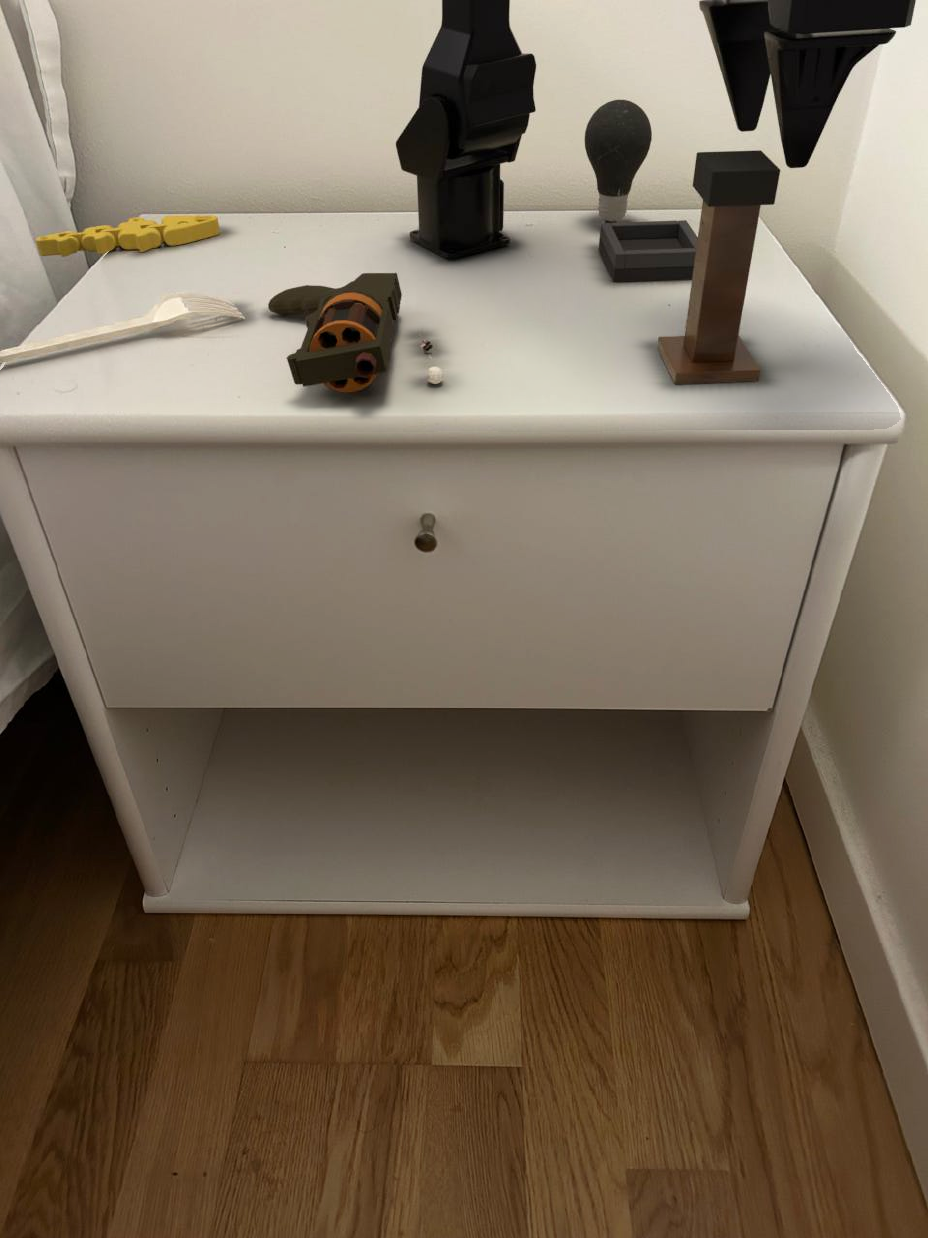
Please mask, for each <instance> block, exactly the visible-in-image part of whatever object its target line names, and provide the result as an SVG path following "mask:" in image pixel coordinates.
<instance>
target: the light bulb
mask: <svg viewBox="0 0 928 1238" xmlns="http://www.w3.org/2000/svg"><path fill="white" fill-rule="evenodd" d="M652 141H653V131H652V126H651V123H650V119H649V117H648V115H647V114H646V112H645V111H644V110H643V108H642V107H640V106H639V105H638V104H637V103H635V102H633V101H631V100H627V99H614V100H610V101H607V102H606V103H604V104H602V105H601V106H600V107H598V108H597V109H596V110H595V111H594V113H593V114H592V115H591V117H590V118H589V120H588V122H587V124H586V127H585V131H584V149H585V152H586V156H587V159H588V161H589V163H590V165H591V167H592V170H593V173H594V175H595V178H596V187H597V188H596V189H597V192H598V197H599V198H598V207H597V209H598V216H599V217H600V218H601V219H602V220H603V221H605V223H615V222H619V221H621V220H622V219H624V218H625V217H626V214H627V211H628V210H627V208H628V198H629V194H630V191H631V189H632V185H633V181H634V179H635V176H636V175H637V172H639V169H640V168H641V166H642V165H643V163H644V161H645V160H646V158H647V157H648V154H649V151H650V148H651V144H652Z"/></svg>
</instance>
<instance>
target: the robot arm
mask: <svg viewBox="0 0 928 1238" xmlns="http://www.w3.org/2000/svg"><path fill="white" fill-rule="evenodd" d="M916 2H917V0H699V2H698V4H699V10H700V11H701V12H702V15H703V19H704V20H705V21H704V22H705V25H706V27H707V32H708V34H709V36H710V39H711V43H712V47H713V49H714V52H715V53H714V54H715V55H716V59H717V62H718V63H717V64H718V66H719V70H720V72H721V75H722V79H723V83H724V86H725V90H726V94H727V96H728V100H729V103H730V107H731V110H732V114H733V117H734V121H735V124H736V128H737V130H738V131H740V132H741V133H743V132H754V131H755V130H757V127H758V124H759V121H760V117H761V115H762V114H761V113H762V111H763V107H764V103H765V98H766V94H767V90H768V86H769V82H770V78H771V84H772V91H773V98H774V105H775V110H776V117H777V122H778V129H779V134H780V141H781V145H782V146H781V147H782V151H783V157H784V161H785V165H786V166H787V167H788V168H789V169H800V168H801V169H802V168H805V167H807V166H808V164H809V163H810V160H811V159H812V155H813V153H814V151H815V149H816V148H817V147H816V146H817V145H818V143H819V140H820V138H821V135H822V133H823V131H824V129H825V128H826V124H827V122H828V120H829V118H830V116H831V113H832V112H833V109H834V107H835V105H836V102H837V100H838V98H839V96H840V94H841V92H842V90H843V87H844V86H845V84H846V82H847V80H848V78H849V76H850V74H851V72H852V70H853V69H854V68H855V66H856V65H857V64H858V63H860V62H861V61H862V60H863V59H864V58H865V57H867V56H868V55H869V54H871V52H873V51H874V50H875V49H876V48H878V47H879V46H881V45H886V44H889V43H890V42H891V41H892V39H893V38H894V37H895V35H896V34H897V30H895V29H901V28H903V29H904V28H907V27H910V26H912V21H913V18H914V11H915V6H916ZM510 6H511V0H441V25H440V28H439V30H438V33H437V34H436V36H435V38H434V41H433V43H432V45H431V47H430V49H429V51H428V53H427V56H426V58H425V60H424V62H423V64H422V68H421V76H420V87H419V89H420V90H419V101H418V108H417V109H416V111H415V112H414V114H413V115H412V116H411V118H410V120H409V122H408V123H407V124H406V126H405V127H404V129H403V131H402V132H401V133H400V135H399V136H398V138H397V139H396V141H395V149H396V153H397V156H398V161H399V165H400V169H401V170H402V171H403V172H405V173H407V174H411V175H413V176H415V177H416V187H417V190H416V191H417V212H418V214H417V215H418V229H416V230H412V231H410V232H409V239H410V240H412V241H414V242H415V243H417V244H419V245H421V246H423V247H425V248H427V249H428V250H430V251H432V252H434V253H435V254H437V255H439V256H441V257H442V258H444V259H450V260H451V259H457V258H461V257H464V256H468V255H472V254H477V253H480V252H484V251H485V252H486V251H488V250H492V249H497V248H500V247H503V246H504V247H505V246H509V245H510V244H511V237H510V236H508V235H507V234H504V233H502V231H503V230H504V215H505V214H504V211H505V209H504V208H505V207H504V206H505V203H504V202H505V182H504V180H503V179H501V165H502V164H505V163H510V164H511V163H513V162H515V161H516V158H517V155H518V151H519V147H520V143H521V139H522V137H523V135H524V134H526V131H527V129H528V127H529V121H530V115H531V114H532V113H535V112H536V111H537V109H536V103H535V97H534V87H535V77H536V71H537V62H536V57H535V55H534V54H533V53H523V51H522V50H521V47H520V45H519V44H518V41H517V40H516V37H515V35H514V33H513V30H512V28H511V24H510V9H511V8H510Z"/></svg>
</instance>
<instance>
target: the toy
mask: <svg viewBox="0 0 928 1238" xmlns="http://www.w3.org/2000/svg"><path fill="white" fill-rule="evenodd" d="M220 233H221V231H220V224H219V219H218V216H216V215H213V214H202V215H201V214H193V215H191V214H190V215H188V214H187V215H186V214H185V215H183V214H182V215H165V216H163V217H162V219H161V223H158V222H157V221H155V220H152V219H147V220H146V219H145V218H143V217H141V216H136V217H130V218H129V219H128V221H125V222H121V223H120V224H118V226H117V227H112V226H111V225H109V224H104V225H97V226H91V227H86V228H85V229H84V230H83V231H82V232H76V231H74V230H67V231H62V232H57V233H52V234H48V235H43V236H38V237H36V238H35V243H36V246H37V250H38V254H39V256H41V257H48V256H61V257H62V258H64V257H68V256H71V255H73V254H76V253H78V252H82V251H87V252H90V253H97V255H99V256H101V255H104V254H107V253H108V252H111V251H112V250H114V249H115V248H116V247H121V248H122V249H124V250H139V252H140V253H144V252H147V251H149V250H151V249H156V248H159V247H160V246H161V244H162V243H166V245H168V246H171V247H173V246H180V245H184V244H189V243H193V242H196V241H200V240H205V239H208V238H211V237H214V236H217V235H219V234H220Z"/></svg>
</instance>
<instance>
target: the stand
mask: <svg viewBox="0 0 928 1238" xmlns="http://www.w3.org/2000/svg"><path fill="white" fill-rule="evenodd" d="M761 206H762V205H747V206H716V207H708V206H707V204H706V203H705V202H704V200H703V199H702V203H701V211H700V218H699V226H698V232H697V233H698V234H697V237H698V240H697V247H696V255H695V262H694V269H693V277H692V279H691V285H690V292H689V298H688V299H689V300H688V305H687V306H688V307H687V315H686V322H685V328H684V329H685V330H684V335H674V336H673V335H671V336H658V338H657V346H656V348H657V350H658V352H659V353H660V356H661V359H662V360H663V362H664V364H665V366H666V369H667V371H668V373H669V376H670V377H671V379H672V381H673V383H674V384H675V385H687V384H710V383H711V384H713V383H738V382H759V381H760V376H761V372H762V369H761V368H760V366H759V365H758V363H757V362H756V360H755V358H754V356H753V355H752V354H751V352H750V350H749V348H748V347H747V346H746V344H745V343H744V341H743V340H742V338H741V336H740V327H741V322H742V317H743V311H744V306H745V299H746V294H747V289H748V281H749V276H750V270H751V264H752V257H753V253H754V248H755V241H756V236H757V235H756V234H757V229H758V224H759V218H760V211H761Z"/></svg>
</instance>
